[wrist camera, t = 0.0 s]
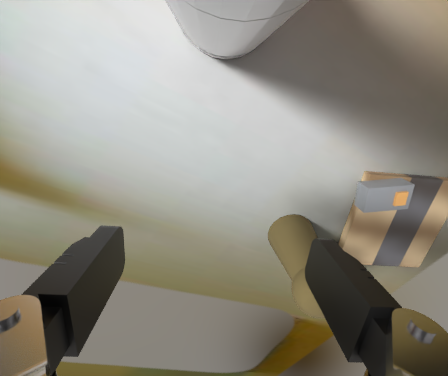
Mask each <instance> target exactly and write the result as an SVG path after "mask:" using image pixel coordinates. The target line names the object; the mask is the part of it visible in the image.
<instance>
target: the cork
mask: <svg viewBox="0 0 448 376" xmlns="http://www.w3.org/2000/svg"><path fill="white" fill-rule="evenodd" d="M316 238H317V235H316V233H315V231H314V229H313V226H312V224H311V223H310V221H309V220H308V219H307V218H305V217H303V216H301V215H295V214H293V215H286V216H284V217H281V218H279V219H278V220H277V221H275V222H274V223H273V224H272V226H271V227H270V229H269V232H268V240H269V242H270V245H271V246H272V248H273V250H274V251H275V253H276V255H277V256H278V258H279V260H280V261H281V263H282V265H283V267H284V268H285V270H286V272H287V273H288V275H289V277H290V278H291V280H292V295H293V298H294V300H295V303H296V305H297V306H298V307H299V309H300V310H302V311H303V312H304V313H305V314H307V315H308V316H311V317H313V318H325V317H324V315H323V313H322V311H321V309H320V307H319V305H318V304H317V302H316V300H315V298H314V296H313V294H312V292H311V290H310V288H309V286H308V284H307V282H306V279H305V266H306V263H307V259H308V255H309V251H310V247H311V244H312V241H313V240H314V239H316ZM317 239H318V238H317Z"/></svg>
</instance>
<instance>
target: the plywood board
mask: <svg viewBox="0 0 448 376" xmlns="http://www.w3.org/2000/svg"><path fill="white" fill-rule="evenodd" d="M393 178H403V179H405V180H407V181H409V182H411V183H413V184H415V186H414V189H413V193H412V196H411V200H410V203H409V207H408V209H401V210H390V211H379V212H368V213H363V212H362V211H361V210H360V209H359V208H358V207H356V206H355V205H354V202H355V199H354V202H353V204H352V207H351V210H350V213H349V215H348V218H347V221H346V224H345V226H344V229H343V232H342V235H341V237H340V240H339V243H338V245H339V246H340V247H341V248H342V249H343V250H344V251H345V252H347V253H348V254H350V255H351V256H353V257H354V258H356V259H357V260H358V261H359V262H360V263H361V264H362V265H383V266H404V267H419V266H420V265H421V263H422V261H423V259H424V258H425V256H426V254H427V252H428V250H429V249H430V247H431V245H432V243H433V242H434V240H435V238H436V236H437V235H438V233H439V231H440V229H441V228H442V226H443V224H444V222H445V220H446V219H447V217H448V178H445V177H432V176H420V175H408V174H395V173H383V172H370V171H364V174H363V177H362V180H361V181H370V180H381V179H393Z"/></svg>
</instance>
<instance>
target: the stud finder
mask: <svg viewBox="0 0 448 376" xmlns="http://www.w3.org/2000/svg"><path fill="white" fill-rule="evenodd" d="M414 186H415V184H413V183H411V182H409V181H407V180H405V179H403V178H393V179H381V180H370V181H359V182H358V184H357V190H356V196H355V202H354V205H355V206H356V207H358V208H359V209H360V210H361V211H362V212H363V213H368V212H379V211H390V210H401V209H408V207H409V203H410V200H411V196H412V193H413V189H414Z"/></svg>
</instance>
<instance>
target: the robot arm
mask: <svg viewBox="0 0 448 376" xmlns="http://www.w3.org/2000/svg"><path fill="white" fill-rule="evenodd" d="M165 1H166V3H167V4H168V6H169V8H170V10H171V11H172V13H173V15H174V17H175V19H176V20H177V22H178V24H179V25H180V27H181V29H182V30H183V32H184V34H185V36H186V37H187V38H188V39H189V40H190V42H191V43H192V44H193V45H194V46H195V47H196V48H198V49H199V50H200V51H201V52H203V53H205V54H207V55H209V56H211V57H215V58H219V59H233V58H237V57H241V56H243V55H245V54H247V53H249V52H251V51H252V50H254V49H255V48H256V47H257V46H258V45H260V44H261V43H262V42H263V41H264V40H266V39H267V38H268V37H269V36H270V35H271V34H272V33H273V32H275V31H276V30H277V29H278V28H279V27H280V26H281V25H282V24H284V23H285V22H286V21H287V20H288V19H289V18H290V17H291V16H293V15H294V14H295V13H296V12H297V11H298V10H299V9H300V8H302V7H303V6H304V5H305V4H306V3H307V2H308V1H309V0H165ZM124 264H125V252H124V236H123V229H122V227H118V226H100V227H99V228H98V229H97V230H96V231H95V232H94V233H93V234H92V235H91V237H90V238H89V237H84V238H83V239H81V240H79V241H77V242H76V243H74V244H72V245H71V246H70V247H69V248H68V249H67V250H66V251H65V252H64V253H63V254H62V256H60V257H59V258H58V259H57V260H56V261H55V262H54V264H52V265H51V266H50V267H49V268H48V269H47V270H46V271H45V272H44V273H43V274H42V275H41V276H40V277H39V278H38V279H37V280H36V281H35V282H34V283H33V284H32V285H31V286H30V287H29V288H28V289H27V290H26V291H25V292H24V293H23V294H22V295H17V296H13V297H9V298H5V299H3V300H0V376H57V373H56V368H57V366H58V365H59V363H60V361H61V359H62V358H63V356H73V357H78V356H79V353H80V352H81V350H82V348H83V346H84V344H85V342H86V341H87V339H88V337H89V335H90V333H91V331H92V329H93V327H94V326H95V324H96V322H97V320H98V318H99V316H100V314H101V312H102V311H103V309H104V307H105V305H106V303H107V301H108V299H109V297H110V296H111V294H112V292H113V290H114V288H115V286H116V284H117V282H118V281H119V279H120V277H121V275H122V272H123V269H124ZM305 279H306V282H307V284H308V286H309V288H310V290H311V292H312V294H313V296H314V298H315V300H316V302H317V304H318V305H319V307H320V309H321V311H322V313H323V315H324V317H325V319H326V321H327V323H328V324H329V326H330V328H331V330H332V332H333V334H334V336H335V338H336V340H337V342H338V344H339V345H340V347H341V349H342V351H343V353H344V355H345V357H346V358H347V361H348V362H363V363H364V364H365V366H366V368H367V369H366V371H365V374H364V376H448V333H447V332H446V331H445V330H444V329H443V328H442V327H441V326H440V325H439V324H437V323H436V322H435V321H433V320H432V319H430V318H429V317H427V316H425V315H423V314H421V313H419V312H416V311H414V310H411V309H406V308H402V307H401V306H400V305H399V304H398V303H397V301H396V300H395V299H394V298H393V297H392V296H391V295H390V294H389V293H388V292H387V291H386V290H385V289H384V287H383V286H382V285H381V284H380V283H379V282H378V281H377V280H376V279H374V277H373V276H372V275H371V273H370V272H369V271H367V269H366V268H365V267H364V266H363V265H362V264H361V263H360V262H359V261H358V260H357V259H356V258H354V257H353V256H351V255H350V254H348V253H347V252H345V251H344V250H343V249H342V248H341V247H340V246H339V245H338V244H337V243H336V241H335V240H333V239H317V238H316V239H314V240H313V241H312V244H311V247H310V251H309V255H308V259H307V263H306V266H305Z"/></svg>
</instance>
